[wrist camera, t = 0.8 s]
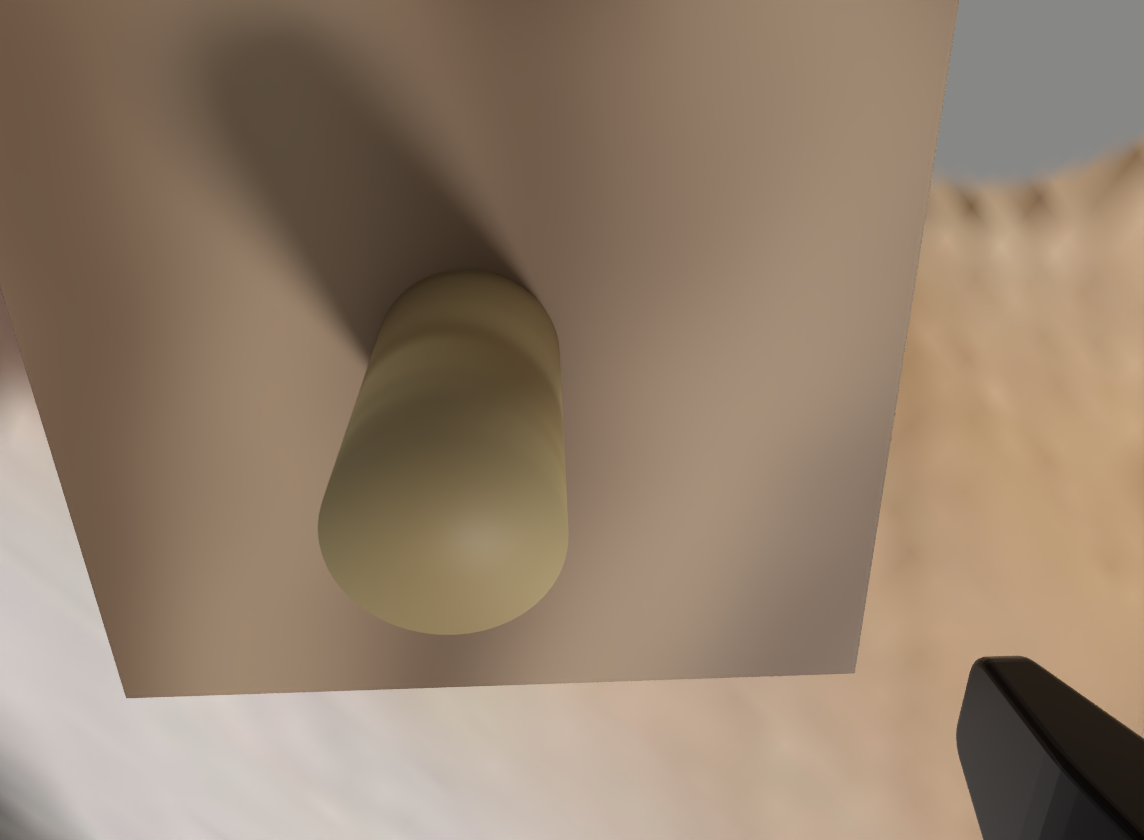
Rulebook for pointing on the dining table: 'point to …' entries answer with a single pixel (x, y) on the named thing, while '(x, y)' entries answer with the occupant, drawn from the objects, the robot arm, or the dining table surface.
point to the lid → (468, 327)
